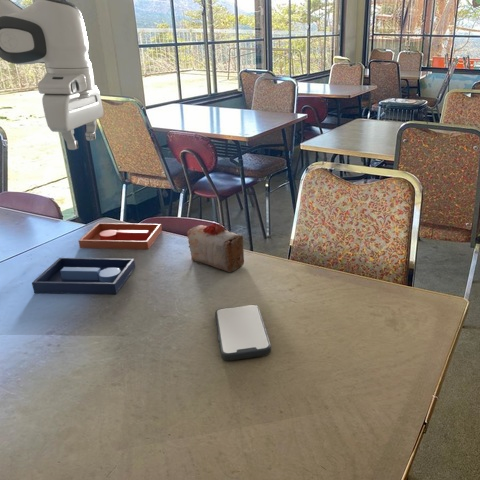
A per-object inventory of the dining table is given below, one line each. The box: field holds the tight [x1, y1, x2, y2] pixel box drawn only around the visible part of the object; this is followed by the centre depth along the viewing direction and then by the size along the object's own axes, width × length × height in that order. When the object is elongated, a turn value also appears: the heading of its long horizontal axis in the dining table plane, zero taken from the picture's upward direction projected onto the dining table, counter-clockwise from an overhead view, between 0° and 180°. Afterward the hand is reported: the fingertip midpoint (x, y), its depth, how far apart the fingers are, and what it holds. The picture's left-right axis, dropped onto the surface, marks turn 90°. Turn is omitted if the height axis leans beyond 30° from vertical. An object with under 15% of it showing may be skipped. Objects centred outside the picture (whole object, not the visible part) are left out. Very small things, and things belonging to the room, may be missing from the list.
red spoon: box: [99, 230, 150, 240], centre depth 127 cm, size 13×5×2 cm, turn 91°
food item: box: [187, 221, 245, 273], centre depth 115 cm, size 14×8×10 cm, turn 59°
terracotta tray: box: [78, 222, 163, 250], centre depth 127 cm, size 17×12×2 cm
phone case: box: [214, 304, 272, 362], centre depth 89 cm, size 9×2×16 cm
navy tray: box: [31, 257, 136, 295], centre depth 107 cm, size 17×12×2 cm
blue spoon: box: [60, 267, 121, 283], centre depth 107 cm, size 13×5×2 cm, turn 91°
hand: (82, 144), depth 110 cm, fingers open, 8 cm apart
